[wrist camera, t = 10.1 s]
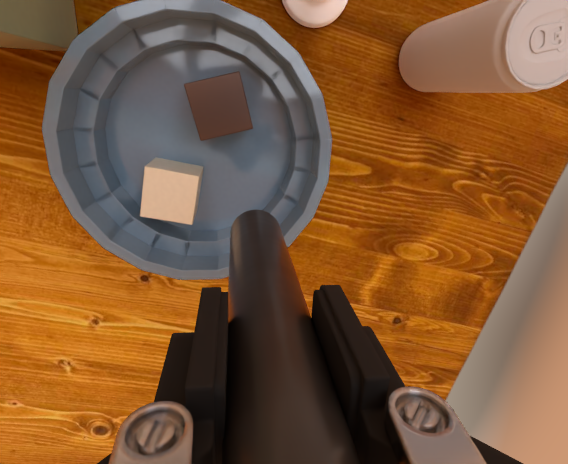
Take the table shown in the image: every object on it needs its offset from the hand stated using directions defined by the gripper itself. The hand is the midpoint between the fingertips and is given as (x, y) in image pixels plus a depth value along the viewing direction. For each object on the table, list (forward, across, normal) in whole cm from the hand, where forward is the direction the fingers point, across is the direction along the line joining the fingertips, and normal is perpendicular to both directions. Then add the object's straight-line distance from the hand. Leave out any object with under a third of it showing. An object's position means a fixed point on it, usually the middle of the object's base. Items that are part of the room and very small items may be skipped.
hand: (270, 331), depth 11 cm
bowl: (+20, +4, -3) cm, 21 cm away
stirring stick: (+9, 0, 0) cm, 9 cm away
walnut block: (+19, +2, -6) cm, 20 cm away
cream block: (+20, +6, 0) cm, 20 cm away
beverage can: (+20, -13, -10) cm, 26 cm away
